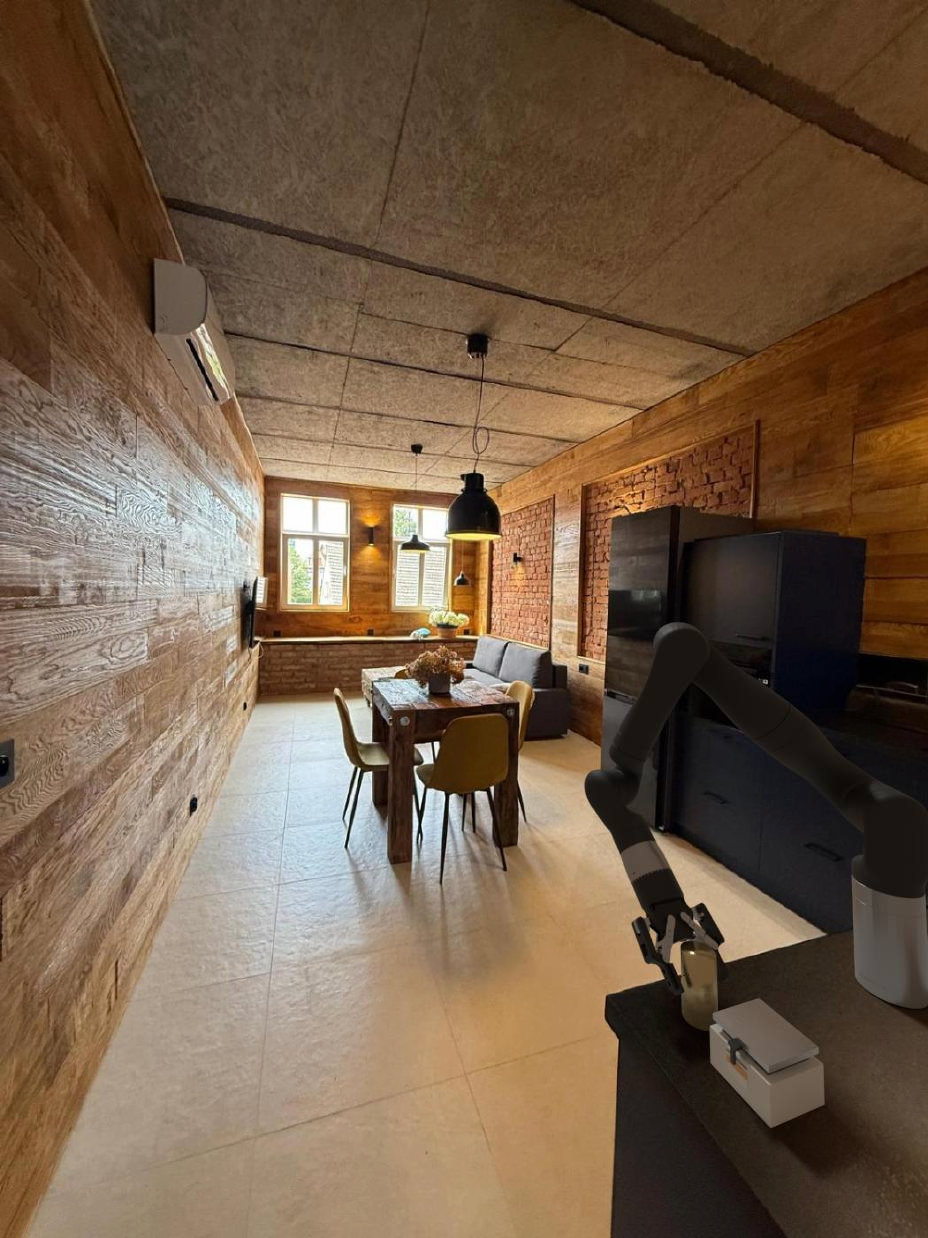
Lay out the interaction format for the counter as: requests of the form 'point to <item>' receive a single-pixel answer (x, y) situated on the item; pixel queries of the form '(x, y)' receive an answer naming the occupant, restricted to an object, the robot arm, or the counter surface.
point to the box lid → (764, 1035)
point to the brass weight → (699, 984)
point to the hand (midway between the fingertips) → (702, 987)
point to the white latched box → (769, 1081)
